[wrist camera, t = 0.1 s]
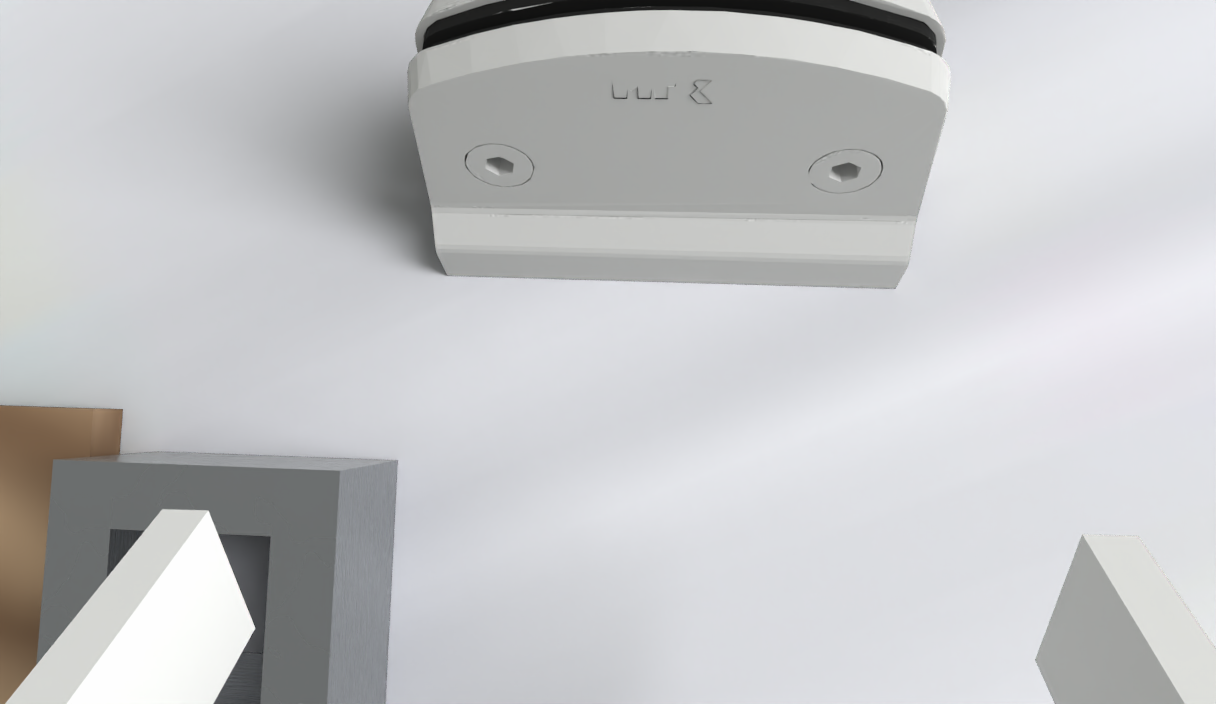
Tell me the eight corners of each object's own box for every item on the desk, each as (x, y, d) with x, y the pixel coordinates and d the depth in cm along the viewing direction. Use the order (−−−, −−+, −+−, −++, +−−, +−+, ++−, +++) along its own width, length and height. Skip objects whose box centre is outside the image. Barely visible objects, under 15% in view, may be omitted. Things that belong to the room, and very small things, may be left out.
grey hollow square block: (384, 719, 28) (322, 786, 23) (140, 703, 28) (28, 765, 23) (397, 460, 28) (340, 470, 23) (158, 451, 29) (53, 459, 24)
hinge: (436, 275, 29) (333, 75, 20) (455, 169, 31) (369, -58, 22) (907, 289, 27) (1032, 82, 18) (896, 177, 29) (1003, -62, 20)
